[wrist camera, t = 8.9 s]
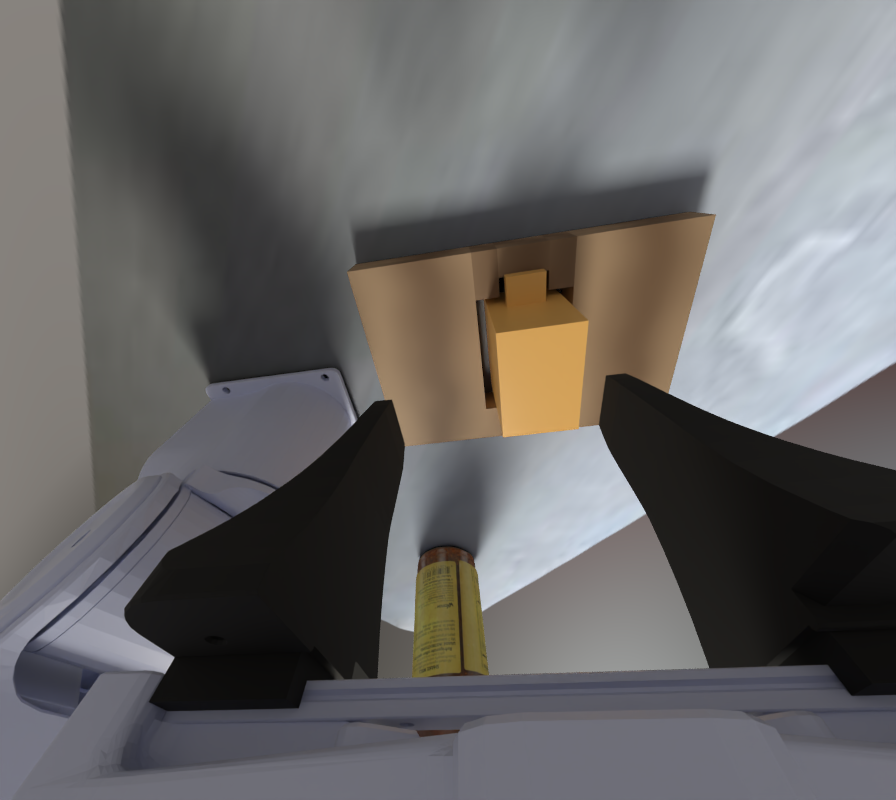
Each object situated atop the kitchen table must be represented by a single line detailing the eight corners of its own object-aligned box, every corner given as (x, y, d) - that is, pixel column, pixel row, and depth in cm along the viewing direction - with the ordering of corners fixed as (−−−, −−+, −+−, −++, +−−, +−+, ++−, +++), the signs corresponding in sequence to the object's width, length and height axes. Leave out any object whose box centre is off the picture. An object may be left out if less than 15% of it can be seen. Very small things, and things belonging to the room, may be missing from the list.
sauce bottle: (410, 569, 36) (378, 904, 19) (428, 537, 32) (408, 906, 16) (466, 580, 37) (481, 904, 20) (488, 550, 34) (529, 905, 17)
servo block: (492, 399, 23) (504, 457, 18) (481, 268, 19) (493, 299, 14) (548, 392, 23) (576, 449, 18) (552, 257, 18) (592, 285, 13)
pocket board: (402, 429, 25) (399, 446, 23) (356, 264, 18) (346, 272, 17) (646, 401, 24) (661, 417, 22) (689, 212, 17) (715, 214, 15)
